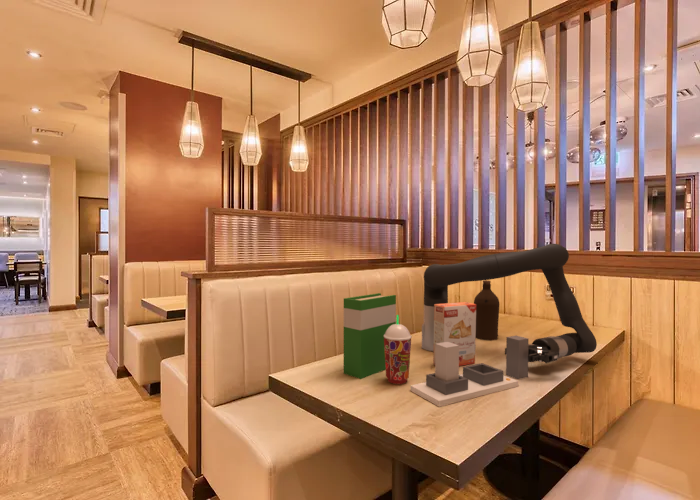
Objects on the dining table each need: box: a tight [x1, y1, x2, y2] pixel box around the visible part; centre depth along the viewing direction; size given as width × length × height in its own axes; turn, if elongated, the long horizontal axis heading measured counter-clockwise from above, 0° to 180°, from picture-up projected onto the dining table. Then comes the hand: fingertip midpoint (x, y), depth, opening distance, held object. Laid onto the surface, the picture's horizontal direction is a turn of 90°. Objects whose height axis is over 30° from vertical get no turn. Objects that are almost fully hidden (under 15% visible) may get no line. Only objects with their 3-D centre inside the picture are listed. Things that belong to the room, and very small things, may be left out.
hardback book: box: [343, 292, 397, 380], centre depth 126 cm, size 18×7×24 cm, turn 136°
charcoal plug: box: [505, 335, 529, 380], centre depth 120 cm, size 4×4×12 cm
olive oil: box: [473, 280, 500, 341], centre depth 168 cm, size 11×11×25 cm
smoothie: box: [384, 314, 412, 385], centre depth 116 cm, size 8×8×20 cm
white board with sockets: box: [409, 342, 520, 408], centre depth 110 cm, size 12×30×14 cm, turn 118°
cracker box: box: [432, 301, 477, 367], centre depth 132 cm, size 14×6×21 cm, turn 115°
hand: (517, 355), depth 120 cm, fingers open, 8 cm apart
